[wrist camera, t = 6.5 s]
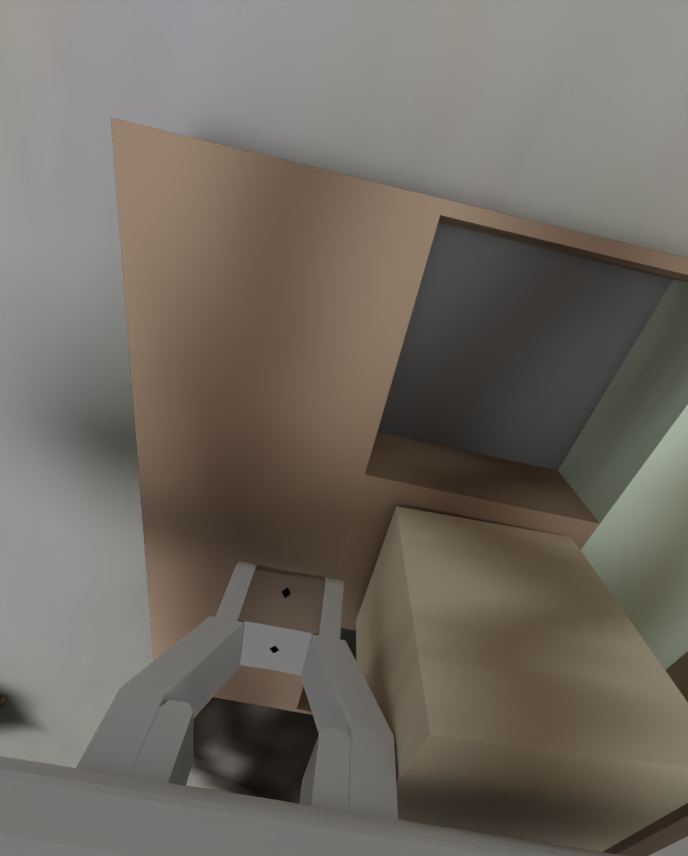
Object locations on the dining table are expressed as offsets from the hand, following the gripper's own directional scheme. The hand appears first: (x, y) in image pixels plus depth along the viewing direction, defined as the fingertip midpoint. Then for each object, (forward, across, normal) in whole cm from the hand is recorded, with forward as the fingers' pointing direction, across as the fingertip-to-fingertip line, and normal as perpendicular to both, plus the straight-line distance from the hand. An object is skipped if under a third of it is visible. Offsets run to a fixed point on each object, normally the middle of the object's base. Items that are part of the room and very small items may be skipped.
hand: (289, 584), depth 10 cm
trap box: (+4, +5, 0) cm, 6 cm away
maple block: (+1, +5, 0) cm, 5 cm away
